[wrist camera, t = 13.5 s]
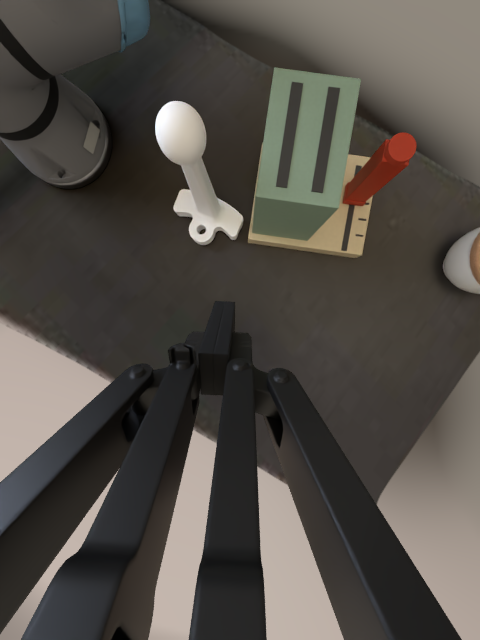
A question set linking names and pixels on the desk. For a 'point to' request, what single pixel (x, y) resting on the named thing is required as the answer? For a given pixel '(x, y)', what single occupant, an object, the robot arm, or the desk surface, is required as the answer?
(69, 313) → the desk surface
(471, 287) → the trinket box
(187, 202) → the joystick
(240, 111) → the desk surface
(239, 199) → the desk surface
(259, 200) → the toaster
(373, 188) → the slider
